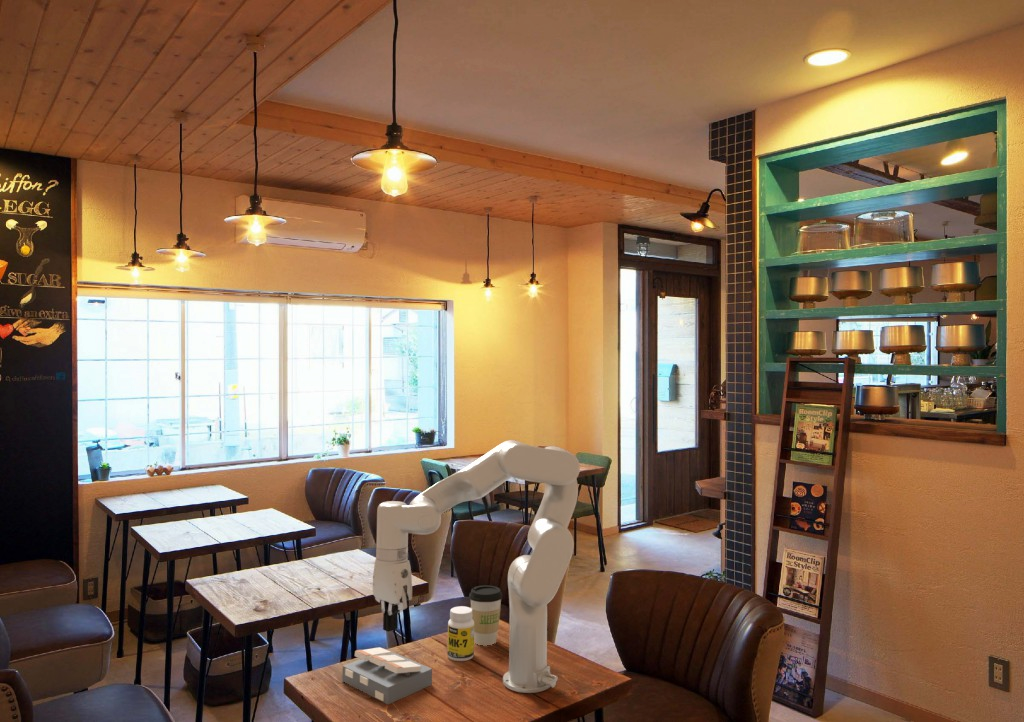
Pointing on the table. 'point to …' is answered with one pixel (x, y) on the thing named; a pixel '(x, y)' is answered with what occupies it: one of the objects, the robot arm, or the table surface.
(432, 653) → the table surface
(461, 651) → the supplement bottle
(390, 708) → the table surface
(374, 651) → the block
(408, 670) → the block
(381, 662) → the rocker
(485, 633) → the coffee cup
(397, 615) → the robot arm
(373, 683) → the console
